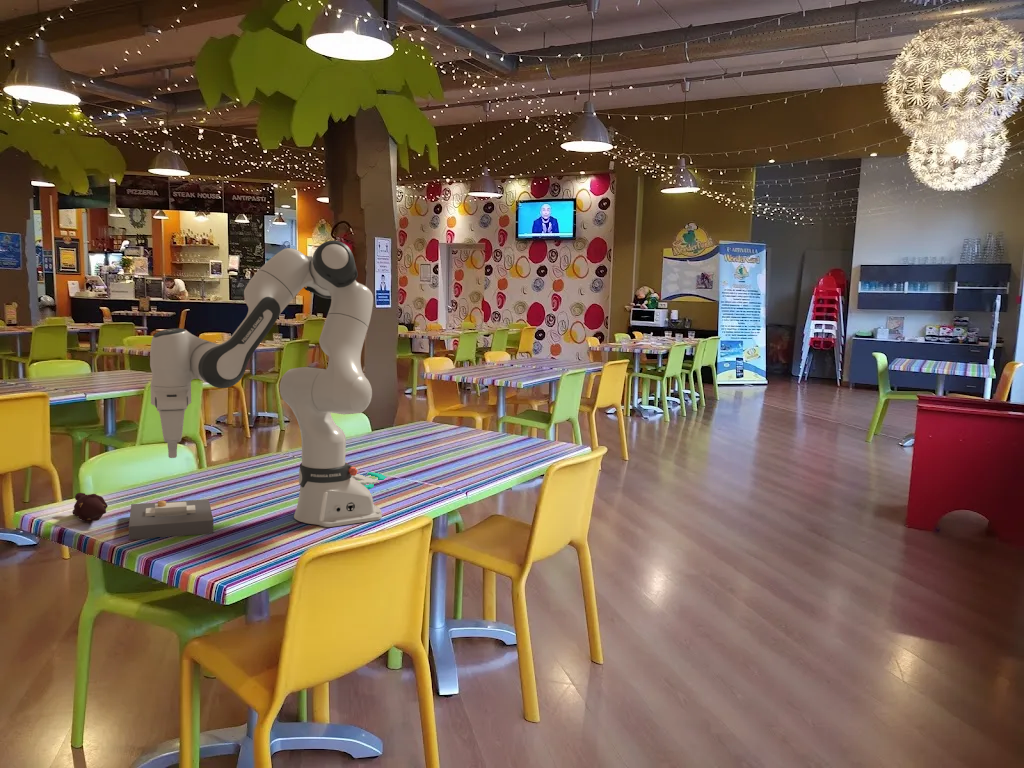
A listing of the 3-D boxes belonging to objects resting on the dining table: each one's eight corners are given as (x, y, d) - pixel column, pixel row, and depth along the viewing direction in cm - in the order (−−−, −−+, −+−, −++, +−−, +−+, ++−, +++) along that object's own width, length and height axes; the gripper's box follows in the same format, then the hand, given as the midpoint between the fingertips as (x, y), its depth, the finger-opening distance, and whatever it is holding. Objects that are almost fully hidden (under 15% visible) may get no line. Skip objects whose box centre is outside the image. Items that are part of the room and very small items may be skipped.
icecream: (123, 498, 180) (94, 490, 189) (92, 496, 174) (63, 488, 183) (117, 527, 179) (88, 518, 188) (86, 526, 173) (57, 517, 182)
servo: (194, 520, 186) (195, 497, 185) (195, 525, 182) (195, 501, 182) (146, 524, 181) (146, 500, 181) (145, 529, 178) (145, 504, 177)
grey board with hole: (208, 511, 194) (208, 499, 194) (213, 533, 178) (213, 520, 178) (131, 516, 186) (131, 504, 186) (128, 540, 170) (128, 526, 170)
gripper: (156, 389, 186) (157, 443, 188) (156, 404, 168) (158, 463, 170) (183, 389, 188) (184, 442, 190) (187, 403, 170) (188, 461, 172)
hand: (172, 452), depth 180 cm, fingers open, 8 cm apart
